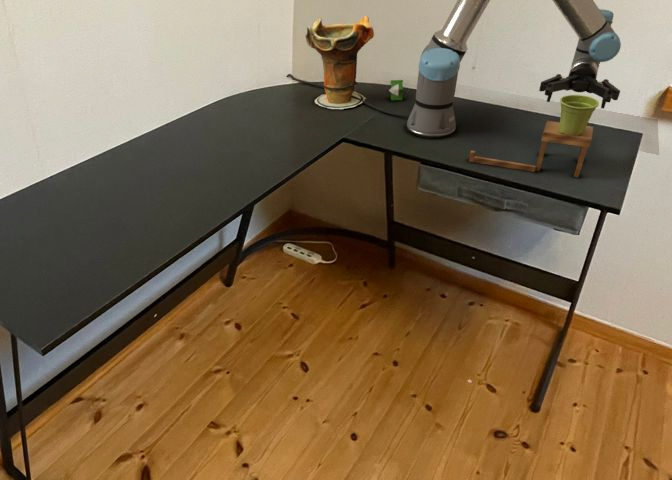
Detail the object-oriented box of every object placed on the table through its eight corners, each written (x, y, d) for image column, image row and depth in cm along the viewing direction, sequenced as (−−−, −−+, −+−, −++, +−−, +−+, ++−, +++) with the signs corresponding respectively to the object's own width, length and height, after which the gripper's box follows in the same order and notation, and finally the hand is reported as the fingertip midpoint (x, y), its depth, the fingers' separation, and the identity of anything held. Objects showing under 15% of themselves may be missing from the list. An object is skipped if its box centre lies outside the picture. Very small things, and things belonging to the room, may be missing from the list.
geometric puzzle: (384, 88, 218) (388, 74, 210) (403, 87, 217) (407, 74, 210) (386, 105, 216) (389, 92, 208) (405, 105, 216) (409, 92, 208)
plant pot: (592, 140, 159) (602, 108, 154) (554, 138, 161) (563, 106, 155) (586, 126, 166) (595, 95, 161) (550, 124, 168) (558, 94, 163)
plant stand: (468, 161, 174) (475, 124, 167) (477, 144, 183) (484, 108, 176) (579, 179, 163) (591, 140, 156) (583, 160, 172) (594, 122, 165)
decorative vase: (308, 89, 225) (308, 9, 208) (370, 91, 222) (375, 9, 205) (301, 110, 209) (301, 25, 192) (368, 112, 205) (374, 25, 188)
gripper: (625, 93, 174) (623, 120, 159) (534, 83, 183) (524, 107, 168) (634, 67, 170) (632, 92, 155) (540, 58, 179) (530, 80, 164)
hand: (576, 100), depth 162 cm, fingers open, 13 cm apart
